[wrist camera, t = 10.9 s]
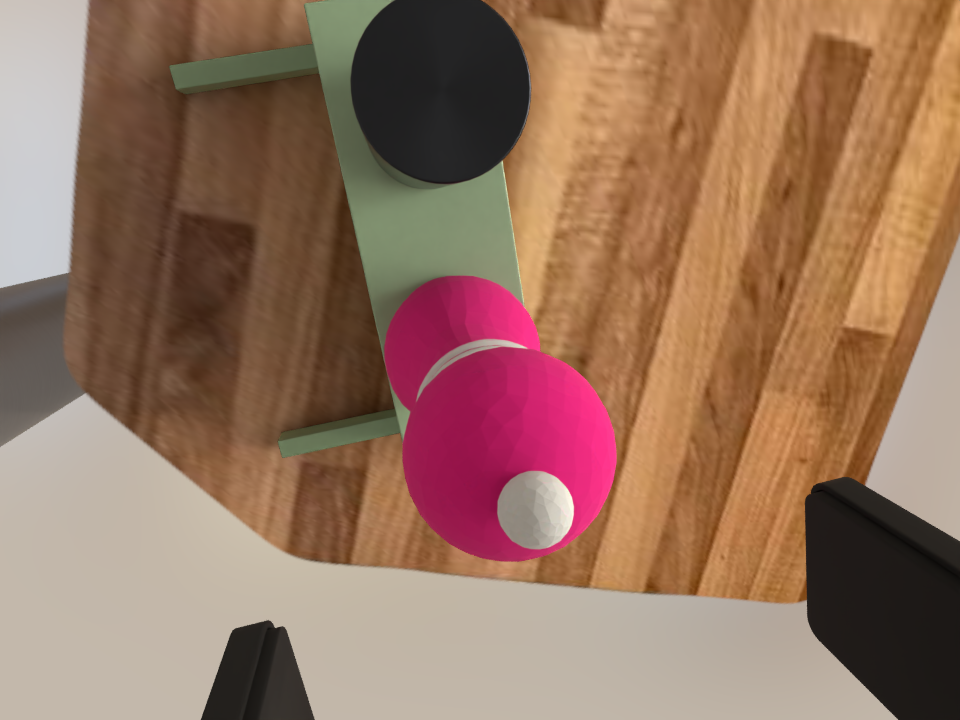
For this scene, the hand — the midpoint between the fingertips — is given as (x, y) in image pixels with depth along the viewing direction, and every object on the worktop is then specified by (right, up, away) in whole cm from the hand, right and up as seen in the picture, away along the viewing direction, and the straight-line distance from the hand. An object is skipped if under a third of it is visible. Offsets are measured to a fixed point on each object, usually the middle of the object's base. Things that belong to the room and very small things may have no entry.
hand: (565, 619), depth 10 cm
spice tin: (-4, +16, +19) cm, 25 cm away
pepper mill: (-3, +6, +22) cm, 23 cm away
